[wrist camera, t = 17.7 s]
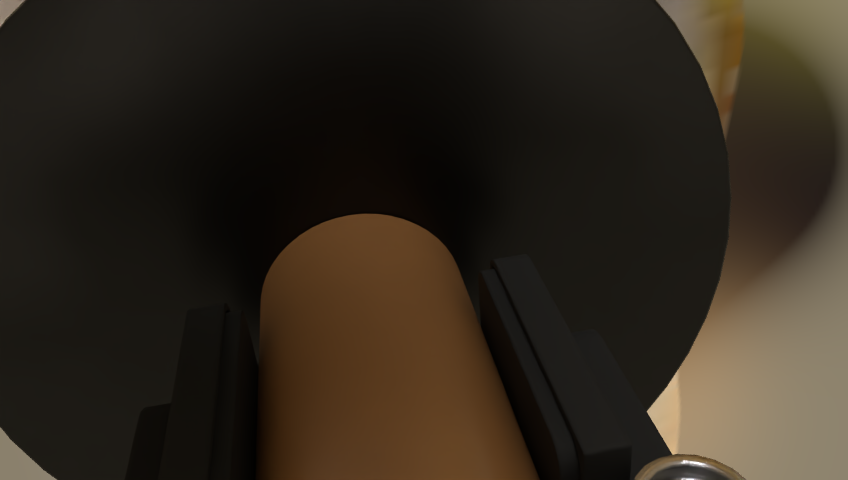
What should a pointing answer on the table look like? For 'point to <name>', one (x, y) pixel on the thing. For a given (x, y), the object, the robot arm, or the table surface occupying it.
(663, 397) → the table surface
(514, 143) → the lid
